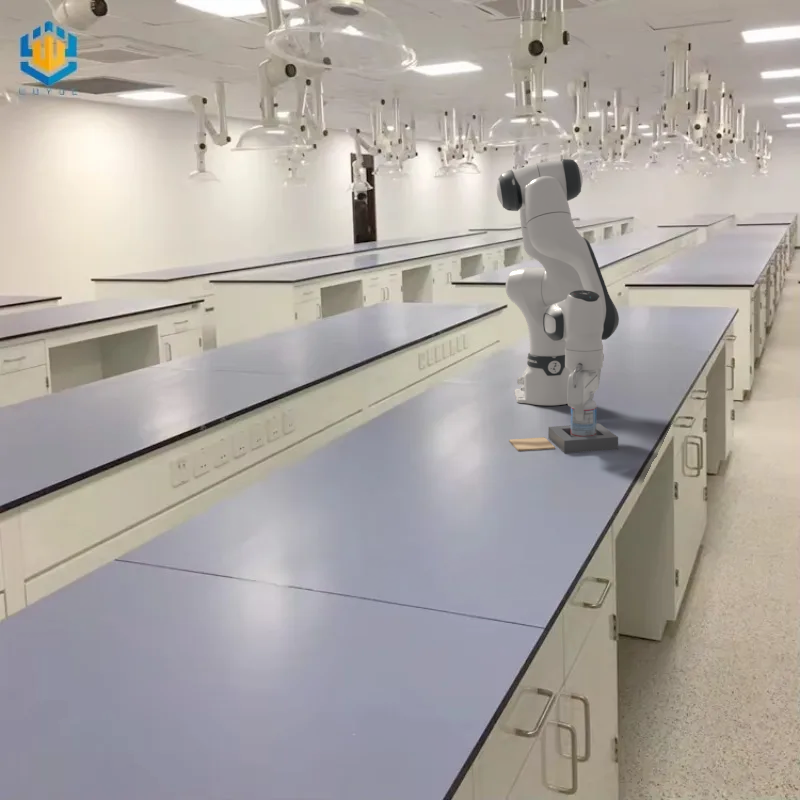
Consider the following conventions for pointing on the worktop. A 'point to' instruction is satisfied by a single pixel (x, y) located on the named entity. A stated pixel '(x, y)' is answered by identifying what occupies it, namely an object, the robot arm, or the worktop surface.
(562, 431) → the grey square bottle holder
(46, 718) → the worktop surface
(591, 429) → the pill bottle
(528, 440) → the cork pad
